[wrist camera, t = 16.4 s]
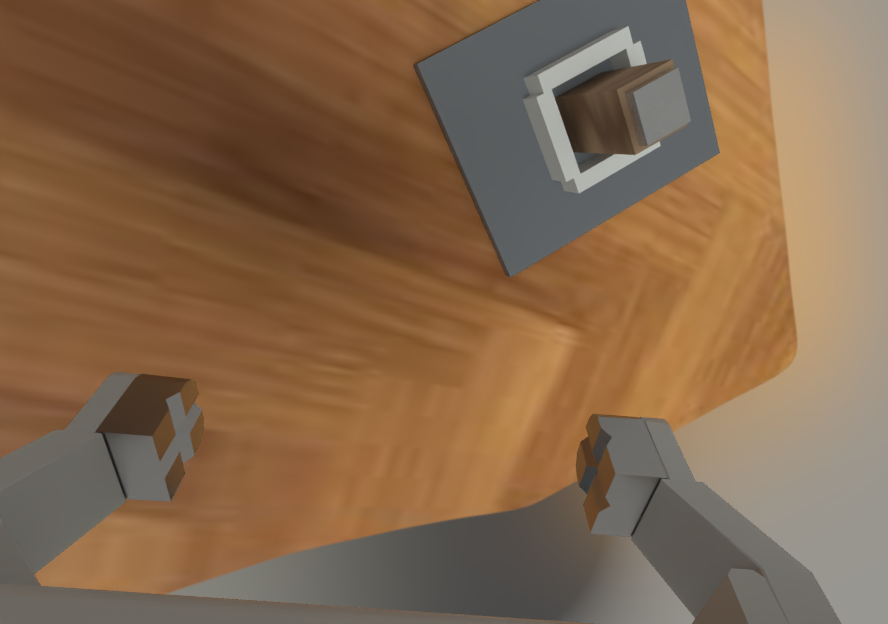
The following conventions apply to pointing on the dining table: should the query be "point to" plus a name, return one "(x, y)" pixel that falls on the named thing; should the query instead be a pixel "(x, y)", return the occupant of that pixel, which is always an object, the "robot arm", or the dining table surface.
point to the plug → (624, 109)
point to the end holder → (559, 117)
